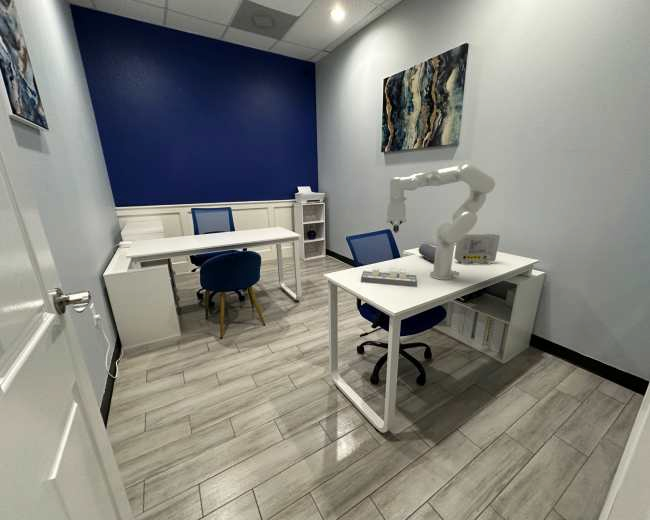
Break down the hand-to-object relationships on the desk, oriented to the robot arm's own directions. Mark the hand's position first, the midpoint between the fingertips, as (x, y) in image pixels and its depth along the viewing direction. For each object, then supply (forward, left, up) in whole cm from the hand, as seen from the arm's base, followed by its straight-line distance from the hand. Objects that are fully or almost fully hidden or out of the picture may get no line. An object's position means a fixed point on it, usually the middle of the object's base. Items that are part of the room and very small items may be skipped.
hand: (395, 232), depth 160 cm
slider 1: (+10, +11, -23) cm, 27 cm away
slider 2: (-5, +11, -23) cm, 26 cm away
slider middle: (0, +11, -23) cm, 25 cm away
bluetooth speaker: (-26, -35, -26) cm, 51 cm away
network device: (-53, -36, -26) cm, 69 cm away
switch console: (+2, +11, -26) cm, 28 cm away
